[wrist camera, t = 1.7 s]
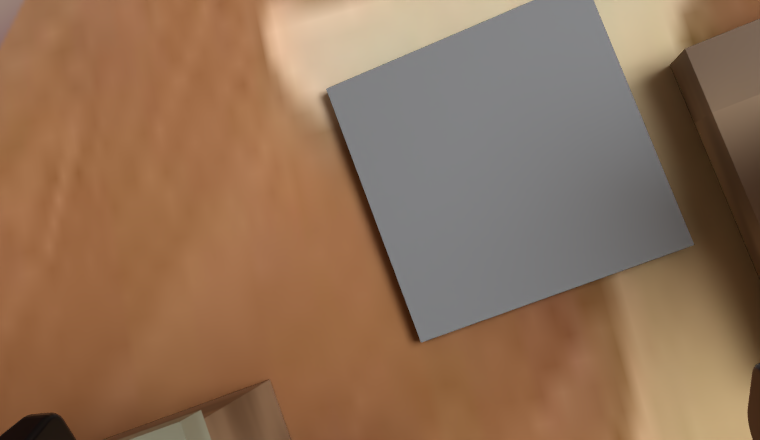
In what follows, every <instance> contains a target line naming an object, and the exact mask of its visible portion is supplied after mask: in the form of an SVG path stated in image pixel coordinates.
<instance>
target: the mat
mask: <svg viewBox="0 0 760 440" xmlns="http://www.w3.org/2000/svg"><path fill="white" fill-rule="evenodd" d="M326 90H327V92H328V95H329V98H330V100H331V103H332V106H333V108H334V111H335V114H336V117H337V119H338V122H339V125H340V127H341V130H342V133H343V135H344V138H345V141H346V143H347V146H348V149H349V151H350V154H351V157H352V159H353V162H354V165H355V167H356V170H357V173H358V175H359V178H360V181H361V183H362V186H363V189H364V191H365V194H366V197H367V199H368V202H369V205H370V207H371V210H372V213H373V215H374V218H375V221H376V224H377V226H378V229H379V232H380V234H381V237H382V240H383V242H384V245H385V248H386V250H387V253H388V256H389V258H390V261H391V264H392V266H393V269H394V272H395V274H396V277H397V280H398V282H399V285H400V288H401V290H402V293H403V296H404V298H405V301H406V304H407V306H408V309H409V312H410V314H411V317H412V320H413V322H414V325H415V328H416V330H417V333H418V336H419V339H420V341H421V342H424V341H427V340H429V339H432V338H435V337H438V336H441V335H443V334H446V333H449V332H452V331H455V330H457V329H460V328H463V327H466V326H469V325H471V324H474V323H477V322H480V321H483V320H485V319H488V318H491V317H494V316H497V315H499V314H502V313H505V312H508V311H511V310H513V309H516V308H519V307H522V306H525V305H527V304H530V303H533V302H536V301H539V300H541V299H544V298H547V297H550V296H553V295H555V294H558V293H561V292H564V291H567V290H569V289H572V288H575V287H578V286H581V285H583V284H586V283H589V282H592V281H595V280H597V279H600V278H603V277H606V276H609V275H611V274H614V273H617V272H620V271H623V270H625V269H628V268H631V267H634V266H637V265H639V264H642V263H645V262H648V261H651V260H653V259H656V258H659V257H662V256H665V255H667V254H670V253H673V252H676V251H679V250H682V249H684V248H687V247H690V246H693V245H694V243H693V241H692V238H691V236H690V233H689V231H688V228H687V226H686V224H685V221H684V219H683V216H682V214H681V211H680V209H679V207H678V204H677V202H676V199H675V197H674V194H673V192H672V190H671V187H670V185H669V182H668V180H667V178H666V175H665V173H664V170H663V168H662V165H661V163H660V161H659V158H658V156H657V153H656V151H655V148H654V146H653V144H652V141H651V139H650V136H649V134H648V131H647V129H646V127H645V124H644V122H643V119H642V117H641V114H640V112H639V110H638V107H637V105H636V102H635V100H634V98H633V95H632V93H631V90H630V88H629V85H628V83H627V81H626V78H625V76H624V73H623V71H622V68H621V66H620V64H619V61H618V59H617V56H616V54H615V51H614V49H613V47H612V44H611V42H610V39H609V37H608V34H607V32H606V30H605V27H604V25H603V22H602V20H601V17H600V15H599V13H598V10H597V8H596V5H595V3H594V1H593V0H533V1H531V2H529V3H526V4H524V5H522V6H519V7H517V8H514V9H512V10H510V11H507V12H505V13H503V14H500V15H498V16H496V17H493V18H491V19H489V20H486V21H484V22H482V23H479V24H477V25H475V26H472V27H470V28H468V29H465V30H463V31H461V32H458V33H456V34H454V35H451V36H449V37H447V38H444V39H442V40H440V41H437V42H435V43H433V44H430V45H428V46H425V47H423V48H421V49H418V50H416V51H414V52H411V53H409V54H407V55H404V56H402V57H400V58H397V59H395V60H393V61H390V62H388V63H386V64H383V65H381V66H379V67H376V68H374V69H372V70H369V71H367V72H365V73H362V74H360V75H358V76H355V77H353V78H351V79H348V80H346V81H344V82H341V83H339V84H337V85H334V86H332V87H329V88H327V89H326Z"/></svg>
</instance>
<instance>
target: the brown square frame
mask: <svg viewBox="0 0 760 440" xmlns="http://www.w3.org/2000/svg"><path fill="white" fill-rule="evenodd" d="M670 66H671V68H672V71H673V73H674V75H675V78H676V80H677V83H678V85H679V87H680V90H681V92H682V95H683V97H684V99H685V102H686V104H687V107H688V109H689V111H690V114H691V116H692V118H693V121H694V123H695V126H696V128H697V130H698V133H699V135H700V138H701V140H702V142H703V145H704V147H705V150H706V152H707V154H708V157H709V159H710V161H711V164H712V166H713V169H714V171H715V173H716V176H717V178H718V181H719V183H720V185H721V188H722V190H723V193H724V195H725V197H726V200H727V202H728V204H729V207H730V209H731V212H732V214H733V216H734V219H735V221H736V224H737V226H738V228H739V231H740V233H741V236H742V238H743V240H744V243H745V245H746V247H747V250H748V252H749V255H750V257H751V259H752V262H753V264H754V267H755V269H756V271H757V274H758V276H759V278H760V19H758V20H756V21H753V22H751V23H748V24H746V25H743V26H741V27H738V28H736V29H733V30H731V31H728V32H726V33H723V34H721V35H718V36H716V37H713V38H711V39H708V40H706V41H703V42H701V43H698V44H696V45H693V46H691V47H688V48H686V49H685V50H684V51H683V52H682V53H681V54H680V55H679V56H678V57H677V58H676V59H675V60H674V61H673V62H672V63H671V64H670Z"/></svg>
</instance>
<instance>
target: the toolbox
mask: <svg viewBox="0 0 760 440" xmlns="http://www.w3.org/2000/svg"><path fill="white" fill-rule="evenodd" d="M104 440H291V438H290V435H289V433H288V430H287V427H286V424H285V421H284V418H283V416H282V413H281V410H280V407H279V404H278V402H277V399H276V396H275V393H274V390H273V387H272V385H271V382H270V380H267V381H264V382H261V383H259V384H256V385H253V386H250V387H248V388H245V389H242V390H239V391H236V392H234V393H231V394H228V395H225V396H223V397H220V398H217V399H214V400H212V401H209V402H206V403H203V404H200V405H198V406H195V407H192V408H189V409H187V410H184V411H181V412H178V413H176V414H173V415H170V416H167V417H164V418H162V419H159V420H156V421H153V422H151V423H148V424H145V425H142V426H140V427H137V428H134V429H131V430H128V431H126V432H123V433H120V434H117V435H115V436H112V437H109V438H106V439H104Z"/></svg>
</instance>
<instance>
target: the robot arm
mask: <svg viewBox="0 0 760 440" xmlns="http://www.w3.org/2000/svg"><path fill="white" fill-rule="evenodd" d="M748 423H749V428H750V432H751V435H752V438H753V440H760V363H758V364H756V365H755V367H754V369H753V372H752V379H751V387H750V395H749V403H748ZM0 440H76V439H75V437H74V436H73V434H72V432H71V431H70V429H69V428H68V426H67V424H66V423H65V421H64V420H63V418H62V417H61V416H60V415H58V414H56V413H41V414H31V415H28V416H26V417H24V418H22V419H21V420H20V421H19V422H17V423H16V424H15V425H14V426H12V427H11V428H10V429H9V430H7V431H6V432H5V433H4V434H2V435H1V436H0Z"/></svg>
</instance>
